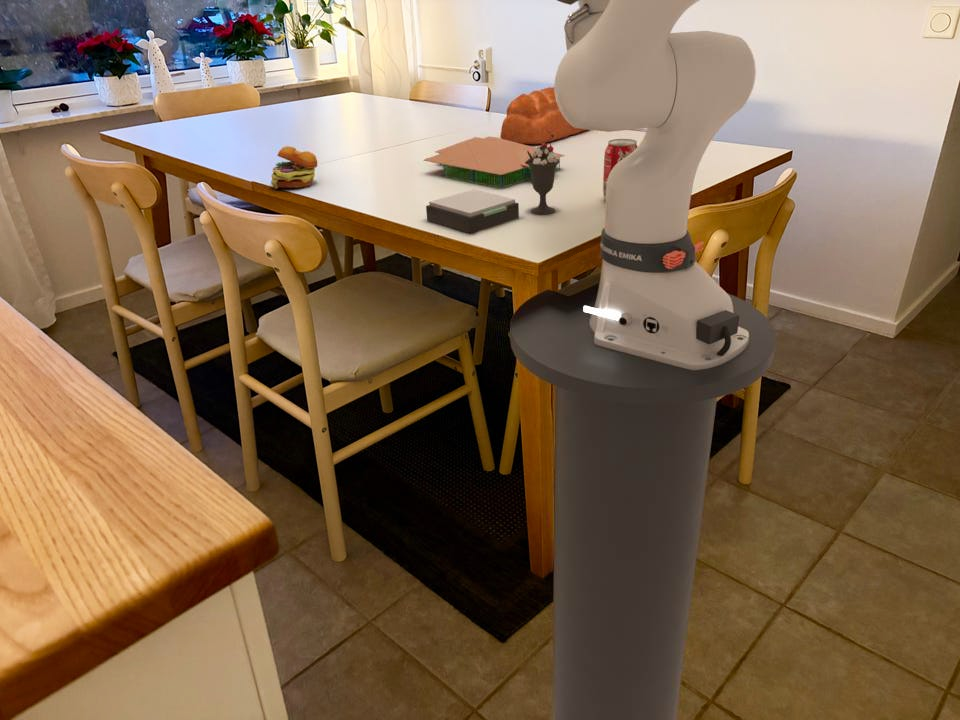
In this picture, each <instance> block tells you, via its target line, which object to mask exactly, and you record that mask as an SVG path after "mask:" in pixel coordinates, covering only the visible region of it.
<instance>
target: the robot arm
mask: <svg viewBox="0 0 960 720" xmlns="http://www.w3.org/2000/svg"><path fill="white" fill-rule="evenodd" d="M556 1H557V2H559V3H563V4H566V5H569V6H572V5H573V4H575V3H578V8H577V9H576V10H574V11H572V12H571V13H568V15H567V19H566V20H565V23H564V24H563V29H564V37H565V46H566V52H565V54H564V55H563V57H562V58H561V60H560V62H559V64H558V66H557V70H556V73H555V76H554V86H553V87H554V90H555V98H556V102H557V105H558V108H559V110H560V112H561V114H562V115H563V117H564V118H565V119H566V121H567V122H568V123H569V124H570V125H571V126H573V127H575V128H581V129H587V130H589V131H596V132H605V133H611V132H621V131H633V130H643V129H646V130H645V134H644V136H643V138H642V140H641V141H640V142H639V145H637V148H636V149H635V150H634V151H633V152H632V153H631V154H630V155H628V156H627V157H625V158H624V159H622V160H621V161H619V162H618V163H617V164H616V165H615V166H614V167H613V169H612V170H611V172H610V174H609V176H608V179H607V183H606V199H605V208H604V209H605V211H604V212H605V213H604V227H603V228H602V230H601V234H600V247H599V248H600V249H599V255H600V257H601V271H600V279H599V283H600V284H599V289H598V294H597V299H596V303H595V306H594V308H592V307H588V306H584V312H587V313H591V314H592V315H591V318H590V321H589V324H590V327H591V329H592V330H593V332H594V333H595V335H594V343H595V344H596V345H598V346H601V347H605V348H609V349H613V350H617V351H620V352H624V353H628V354H632V355H636V356H639V357H643V358H647V359H651V360H655V361H658V362H662V363H666V364H670V365H674V366H677V367H681V368H685V369H689V370H702V369H708V368H712V367H715V366H718V365H721V364H723V363H725V362H727V361H729V360H731V359H733V358H734V357H736V356H737V355H739V354H740V353H741V352H742V351H743V350H744V349H745V348H746V347H747V345H748V343H749V332H748V331H747V330H745V329H743V328H741V327H738V324H739V317H740V316H739V315H737V314H734V312H733V304H732V300H731V298H730V296H729V295H728V294H729V293H728V292H726V290H724V289H723V288H722V287H721V286H720V285H719V284H718V283H717V282H716V280H714V279H713V278H712V276H710V274H709V273H708V272H707V271H705V269H704V268H703V267H702V265H700V264H699V263H698V262H697V255H696V253H698V252H700V251H702V250H704V247H702V246H703V245H704V243H705V242H704V241H700V242H697V243H695V244H694V243H693V240H692V238H691V235H690V234H691V233H690V232H689V230H688V224H689V223H688V222H689V214H690V205H691V200H692V199H691V198H692V192H693V186H694V181H695V179H696V178H695V177H696V174H697V170H698V168H699V165H700V163H701V160H702V159H703V156H704V154H705V152H706V150H707V148H708V147H709V145H710V143H712V141H713V139H714V137H715V136H716V134H717V133H718V132H719V131H720V129H721V128H722V127H723V126H724V125H725V123H726V122H727V121H729V120H730V119H731V118H732V117H733V116H734V115H735V114H737V113H739V111H740V110H742V109H743V107H744V106H745V105H746V103H747V102H748V100H749V98H750V97H751V95H752V92H753V90H754V87H755V82H756V77H757V76H756V73H757V69H756V68H757V67H756V61H755V58H754V54H753V52H752V49H751V47H750V46H749V44H748V43H747V41H746V40H745V39H743V38H742V37H740V36H739V35H733V34H727V33H723V32H717V31H711V30H697V31H696V30H695V31H684V32H683V31H681V32H672V31H673V29H674V27H675V25H676V24H677V22H678V21H679V19H680V18H681V17H682V15H684V13H685V12H686V11H687V10H688V9H690V7H692V6H694V5H695V4H697V3H698V2H699V1H700V0H556ZM727 293H728V294H727Z"/></svg>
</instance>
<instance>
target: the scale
mask: <svg viewBox="0 0 960 720" xmlns="http://www.w3.org/2000/svg"><path fill="white" fill-rule="evenodd" d="M519 209H520V208H519V202H516V199H515V198H512V197H508V196H503V195H500V194H496V193H490V192H487V191H482V190H478V189H475V188H474V189H470V190H466V191H462V192H459V193H456V194H452V195H449V196H444V197H441V198H437V199H434V200H431V201H429V202H428V205H426V206H425V211H426V221H427V222H432V223H433V224H436V225H437V224H438V225H441V226H444V227H447V228H451V229H453V230H457V231H459V232H460V231H461V232H463V233H467V234H474V233H477V232H480V231H483V230H486V229H489V228H493V227H495V226H498V225H501V224H505V223H507V222H511V221H513V220H516V219H517V220H518V219H519V218H520V210H519Z"/></svg>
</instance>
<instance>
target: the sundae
mask: <svg viewBox="0 0 960 720" xmlns="http://www.w3.org/2000/svg"><path fill="white" fill-rule="evenodd" d="M551 136H552V138H553V137H554V135H551ZM552 138H551V139H552ZM549 139H550V138H549ZM549 139H548V140H549ZM548 140H547V141H548ZM547 141H546V142H545V143H542V144H540V146H537V147H535V148H536V149H535V151H534V153H533V157H532V156H531V154H530V153H529V151H527V153H528V155H529V157H530V159H528V160H527V161H526V162H525V164H527V165H529V166H530V168H529V169H530V170H529V172H530V171H531V178H532V179H531V178H530V179H531V183H532V188H533V190H534V191H535V192H536V193H537V194H538V195H539V203H538V205H537V206H535V207H534V208H531V209H530V213H532V214H535V215H551V214H553V213H555V212H556V209H555V208H554V207H551V206H549V205H548V203H547V194H548V193H549V192H551V191H552V190H553V188H554V183H555V177H556V171H557V169H556V166H557V164H558V165H559V163H560V164H561V160H560V161H559V160H558V159H559V158H558V159H557V156H556V154H555V153H556V152H554V149H555V147H553V146H552V141H551V140H550V141H549V146H548V144H547V143H548V142H547Z"/></svg>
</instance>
